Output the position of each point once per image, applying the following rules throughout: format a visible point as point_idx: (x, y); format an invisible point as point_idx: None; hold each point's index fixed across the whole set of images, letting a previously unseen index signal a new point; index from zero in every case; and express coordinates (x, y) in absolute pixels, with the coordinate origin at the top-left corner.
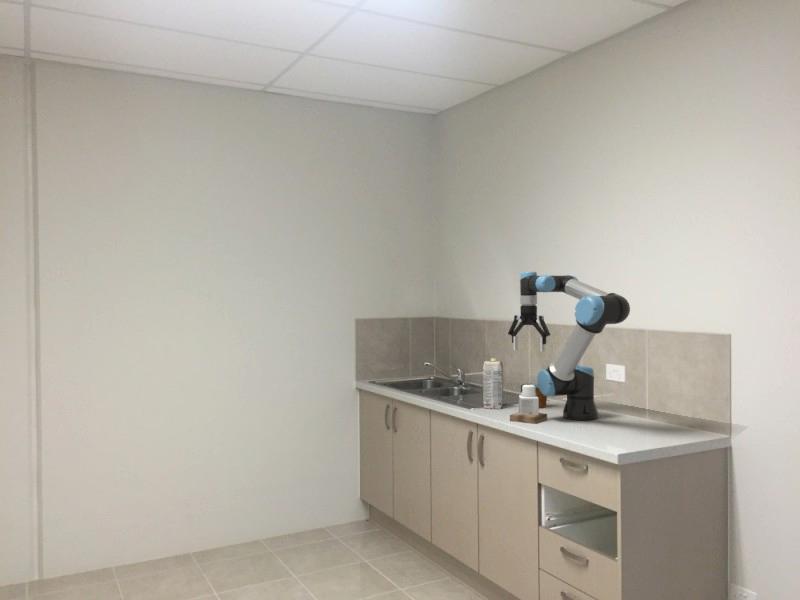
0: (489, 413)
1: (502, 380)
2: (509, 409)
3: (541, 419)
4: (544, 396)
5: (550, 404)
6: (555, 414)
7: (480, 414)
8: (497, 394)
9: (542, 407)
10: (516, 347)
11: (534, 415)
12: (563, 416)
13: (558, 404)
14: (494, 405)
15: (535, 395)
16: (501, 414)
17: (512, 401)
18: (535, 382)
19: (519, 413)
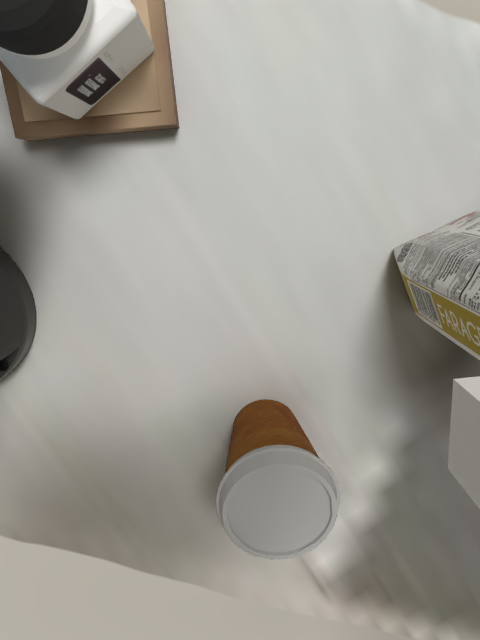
0: (380, 97)
1: (470, 321)
2: (350, 280)
3: None
4: (229, 451)
5: None
6: (88, 302)
7: (408, 30)
8: (438, 247)
9: (237, 415)
10: (475, 456)
11: None
12: (2, 251)
13: None
14: (426, 234)
15: (21, 72)
16: (308, 114)
17: (445, 477)
18: (311, 518)
19: None
